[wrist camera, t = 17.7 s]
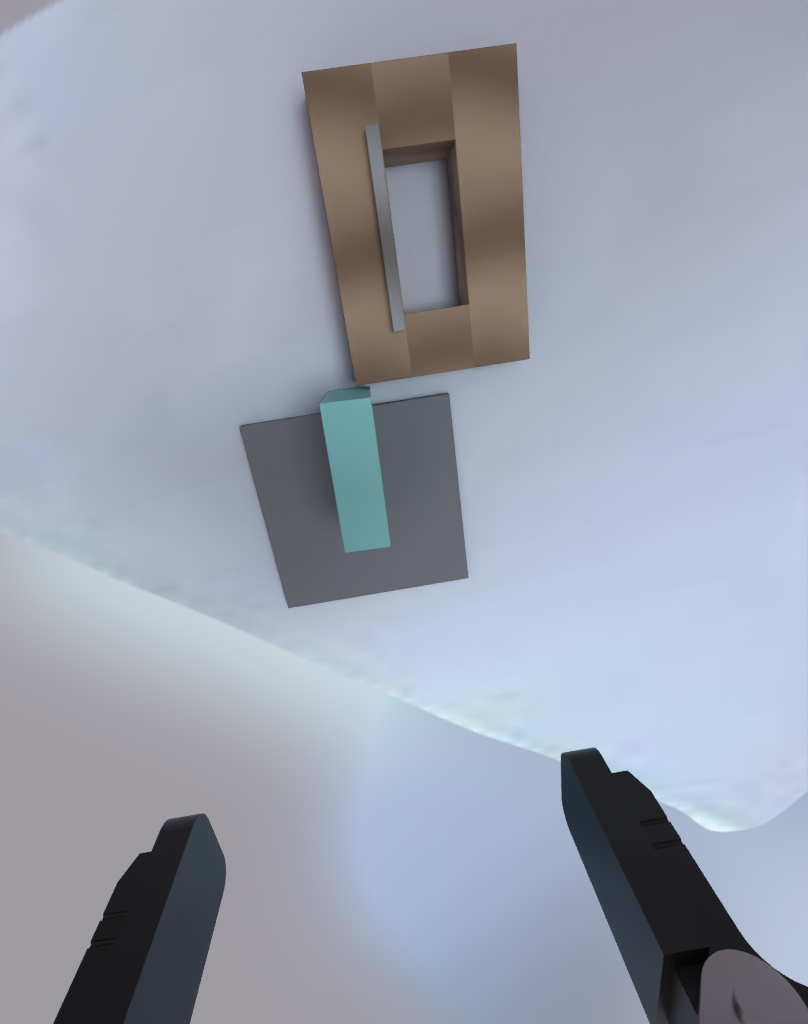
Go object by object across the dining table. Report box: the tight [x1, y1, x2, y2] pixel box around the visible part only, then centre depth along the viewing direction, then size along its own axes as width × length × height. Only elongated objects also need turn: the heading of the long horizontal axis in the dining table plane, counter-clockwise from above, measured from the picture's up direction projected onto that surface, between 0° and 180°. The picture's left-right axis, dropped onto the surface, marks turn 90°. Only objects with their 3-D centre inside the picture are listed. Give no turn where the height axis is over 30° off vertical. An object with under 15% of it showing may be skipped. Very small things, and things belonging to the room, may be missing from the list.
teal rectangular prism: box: [319, 386, 391, 553], centre depth 26 cm, size 6×2×8 cm
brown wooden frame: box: [302, 43, 530, 386], centre depth 24 cm, size 14×10×3 cm
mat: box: [240, 393, 468, 608], centre depth 31 cm, size 13×13×1 cm
